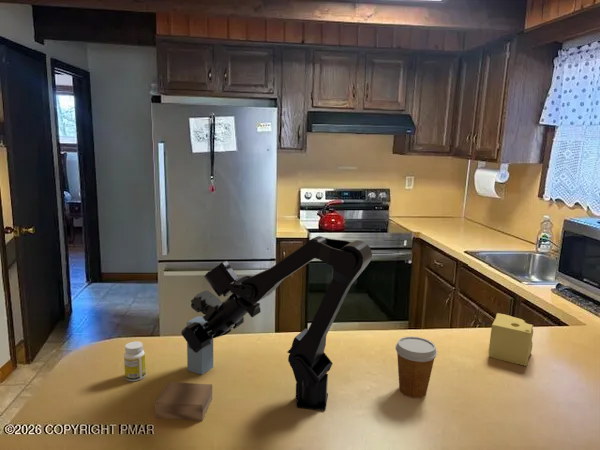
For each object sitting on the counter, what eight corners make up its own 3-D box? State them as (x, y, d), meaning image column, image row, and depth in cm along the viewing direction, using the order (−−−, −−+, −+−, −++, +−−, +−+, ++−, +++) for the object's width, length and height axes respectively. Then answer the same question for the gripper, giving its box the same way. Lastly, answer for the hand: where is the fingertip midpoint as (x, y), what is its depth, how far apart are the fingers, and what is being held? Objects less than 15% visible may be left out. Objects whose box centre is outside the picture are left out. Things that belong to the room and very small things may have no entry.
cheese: (531, 353, 129) (535, 320, 127) (527, 368, 120) (531, 333, 118) (492, 343, 134) (496, 312, 132) (486, 357, 125) (489, 323, 123)
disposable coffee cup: (406, 376, 113) (409, 332, 111) (440, 392, 107) (445, 345, 105) (384, 390, 107) (387, 343, 105) (419, 407, 100) (424, 357, 98)
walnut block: (212, 400, 101) (212, 384, 100) (202, 422, 93) (202, 404, 93) (169, 397, 102) (168, 381, 101) (155, 419, 94) (155, 401, 93)
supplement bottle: (139, 369, 113) (137, 338, 111) (149, 376, 110) (148, 344, 108) (121, 377, 109) (119, 345, 108) (131, 384, 106) (130, 351, 105)
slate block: (213, 366, 116) (213, 319, 113) (202, 374, 111) (201, 325, 109) (199, 362, 117) (198, 315, 115) (187, 370, 113) (186, 322, 111)
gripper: (234, 274, 117) (200, 306, 123) (187, 294, 100) (151, 331, 107) (259, 308, 115) (224, 339, 122) (216, 335, 98) (177, 369, 105)
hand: (195, 343), depth 114 cm, fingers closed on slate block, 5 cm apart
